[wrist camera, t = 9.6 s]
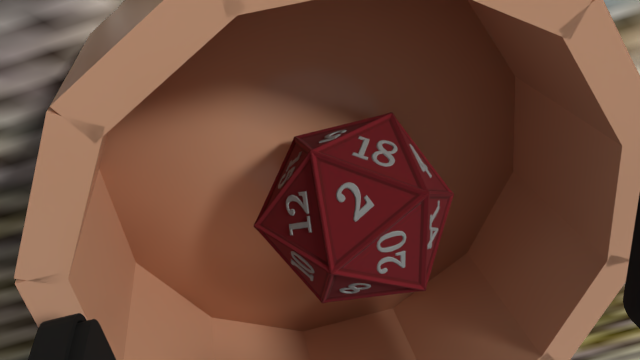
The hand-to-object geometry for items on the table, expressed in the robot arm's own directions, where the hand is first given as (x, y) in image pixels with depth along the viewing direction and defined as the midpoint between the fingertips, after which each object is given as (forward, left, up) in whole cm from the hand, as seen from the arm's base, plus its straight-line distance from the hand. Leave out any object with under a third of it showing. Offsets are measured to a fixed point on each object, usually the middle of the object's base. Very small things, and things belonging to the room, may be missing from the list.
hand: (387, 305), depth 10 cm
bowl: (0, 0, -6) cm, 6 cm away
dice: (0, 0, -5) cm, 5 cm away
